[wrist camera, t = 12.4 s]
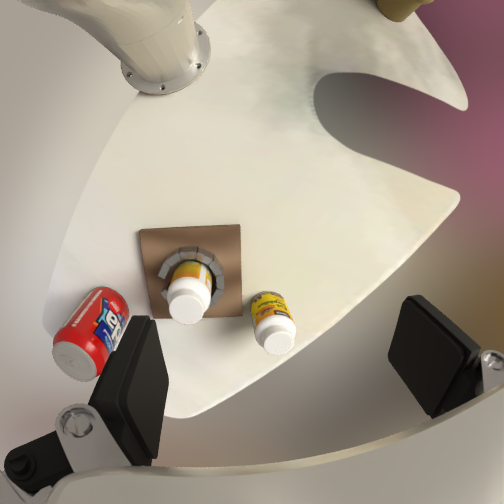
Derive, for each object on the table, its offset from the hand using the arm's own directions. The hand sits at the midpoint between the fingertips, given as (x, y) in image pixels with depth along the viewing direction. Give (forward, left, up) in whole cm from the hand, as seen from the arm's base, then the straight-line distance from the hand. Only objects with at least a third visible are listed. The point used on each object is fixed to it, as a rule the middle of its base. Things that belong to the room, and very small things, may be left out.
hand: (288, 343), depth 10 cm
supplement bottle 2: (+16, +4, -31) cm, 35 cm away
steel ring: (+10, -7, -29) cm, 32 cm away
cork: (-36, +26, -31) cm, 54 cm away
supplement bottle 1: (+10, -7, -29) cm, 32 cm away
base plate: (+10, -7, -30) cm, 33 cm away
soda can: (+15, -22, -31) cm, 41 cm away
